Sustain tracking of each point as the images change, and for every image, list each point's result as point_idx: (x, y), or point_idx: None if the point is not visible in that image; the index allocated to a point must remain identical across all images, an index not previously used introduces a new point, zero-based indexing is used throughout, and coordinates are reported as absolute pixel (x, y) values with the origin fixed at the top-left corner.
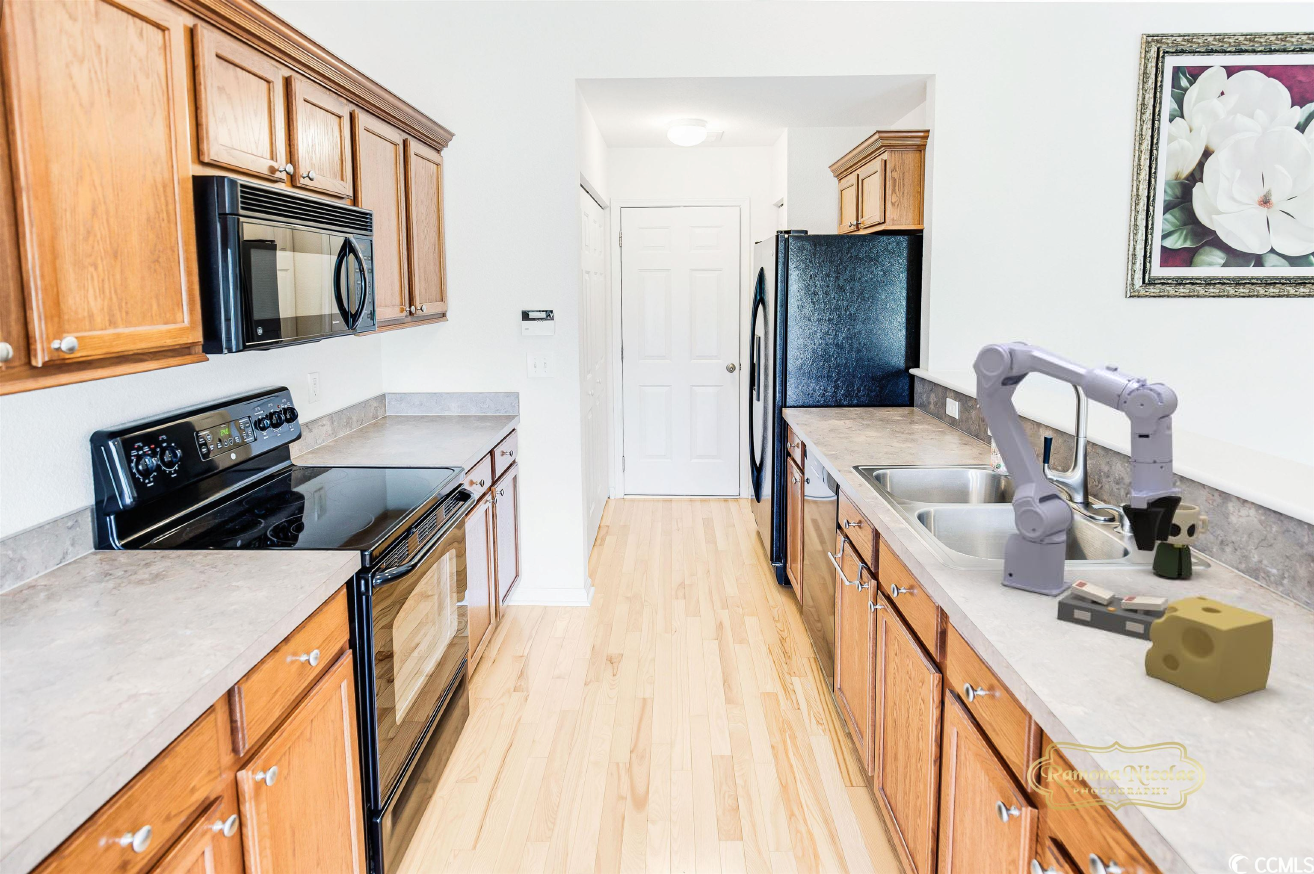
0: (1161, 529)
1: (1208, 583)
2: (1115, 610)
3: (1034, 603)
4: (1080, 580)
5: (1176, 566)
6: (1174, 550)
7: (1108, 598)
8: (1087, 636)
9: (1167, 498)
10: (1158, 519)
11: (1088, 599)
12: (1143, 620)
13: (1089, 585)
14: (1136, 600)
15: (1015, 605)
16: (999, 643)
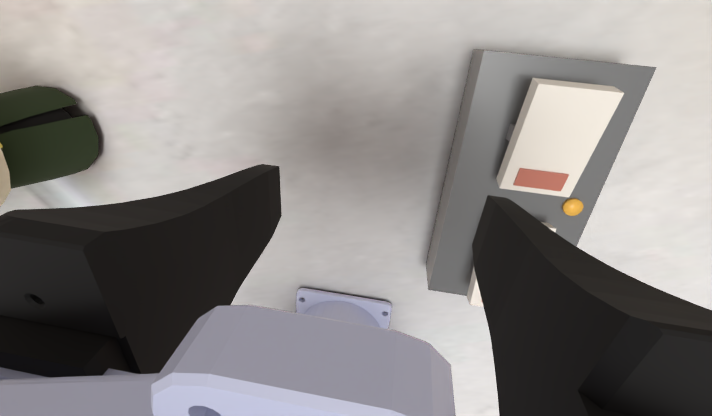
0: (255, 212)
1: (49, 40)
2: (569, 197)
3: (451, 324)
4: (470, 302)
5: (61, 123)
6: (16, 142)
7: (548, 227)
8: (628, 218)
9: (116, 323)
10: (636, 289)
11: None
12: (629, 123)
13: None
14: (560, 163)
15: (482, 347)
16: None
